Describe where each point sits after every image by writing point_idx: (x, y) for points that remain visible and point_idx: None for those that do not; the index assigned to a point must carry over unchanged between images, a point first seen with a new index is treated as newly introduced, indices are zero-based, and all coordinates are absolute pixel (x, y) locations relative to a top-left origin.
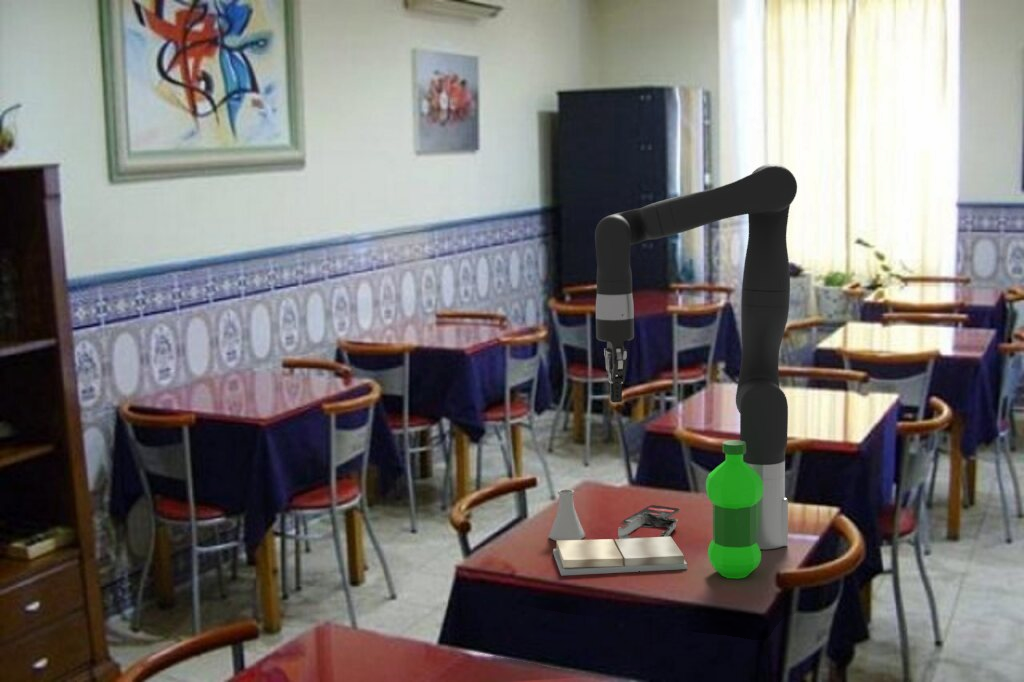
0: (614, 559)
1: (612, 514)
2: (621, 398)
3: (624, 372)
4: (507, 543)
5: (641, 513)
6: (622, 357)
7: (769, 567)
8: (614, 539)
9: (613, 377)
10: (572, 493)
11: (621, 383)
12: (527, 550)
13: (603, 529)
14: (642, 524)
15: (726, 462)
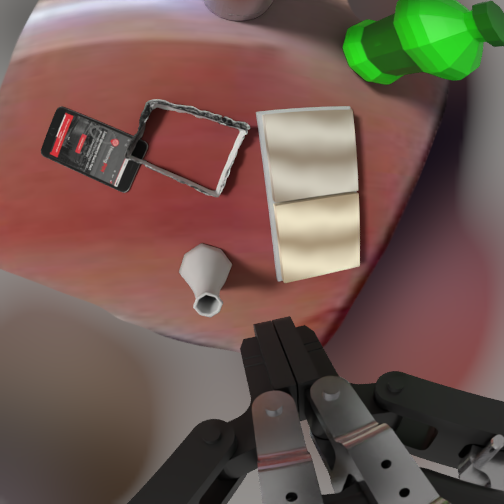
0: (358, 204)
1: (84, 209)
2: (293, 324)
3: (472, 398)
4: (232, 332)
5: (79, 164)
6: (487, 487)
7: (339, 11)
8: (276, 202)
9: (418, 423)
10: (213, 293)
11: (333, 380)
12: (260, 308)
13: (161, 218)
14: (137, 158)
15: (480, 43)
